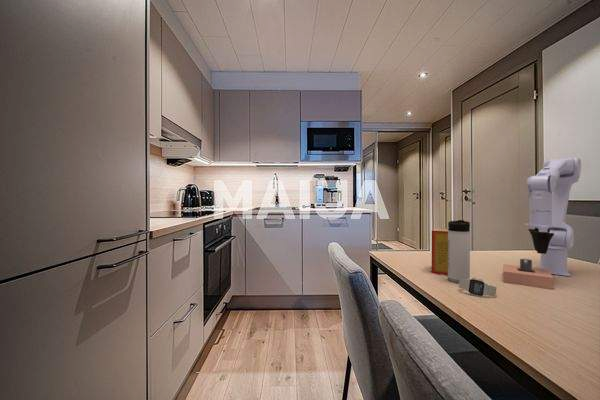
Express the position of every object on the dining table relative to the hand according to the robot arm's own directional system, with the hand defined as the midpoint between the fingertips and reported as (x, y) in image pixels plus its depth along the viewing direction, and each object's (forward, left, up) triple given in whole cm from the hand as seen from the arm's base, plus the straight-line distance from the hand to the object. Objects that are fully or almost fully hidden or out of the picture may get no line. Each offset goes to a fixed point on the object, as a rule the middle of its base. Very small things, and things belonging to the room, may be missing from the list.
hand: (540, 251), depth 92 cm
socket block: (+5, -4, -9) cm, 11 cm away
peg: (+5, -4, -9) cm, 11 cm away
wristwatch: (+28, -16, -10) cm, 34 cm away
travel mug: (+18, -22, -10) cm, 30 cm away
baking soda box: (+8, -28, -10) cm, 31 cm away
